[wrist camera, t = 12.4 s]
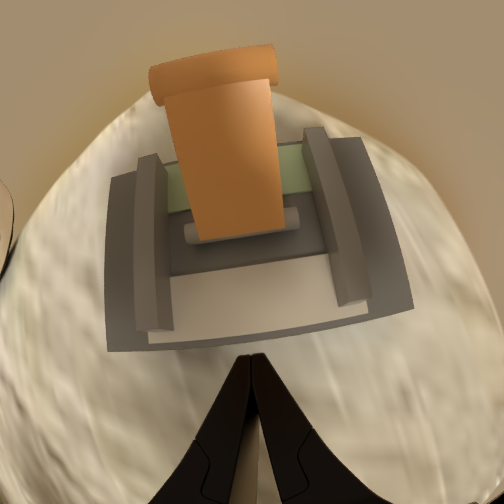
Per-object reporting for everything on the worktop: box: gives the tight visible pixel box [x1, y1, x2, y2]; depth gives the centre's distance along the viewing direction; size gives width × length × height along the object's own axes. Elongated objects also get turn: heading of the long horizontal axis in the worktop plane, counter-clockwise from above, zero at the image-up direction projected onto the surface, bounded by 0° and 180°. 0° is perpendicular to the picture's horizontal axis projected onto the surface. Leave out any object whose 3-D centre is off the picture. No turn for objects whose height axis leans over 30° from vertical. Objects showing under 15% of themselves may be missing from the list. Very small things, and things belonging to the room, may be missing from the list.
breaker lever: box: [149, 44, 300, 246], centre depth 12 cm, size 2×6×10 cm
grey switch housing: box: [104, 127, 414, 352], centre depth 17 cm, size 12×18×7 cm, turn 98°
